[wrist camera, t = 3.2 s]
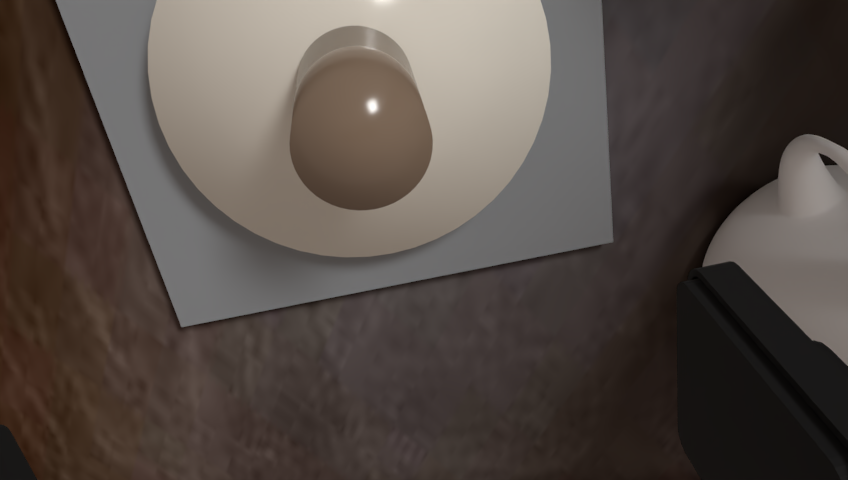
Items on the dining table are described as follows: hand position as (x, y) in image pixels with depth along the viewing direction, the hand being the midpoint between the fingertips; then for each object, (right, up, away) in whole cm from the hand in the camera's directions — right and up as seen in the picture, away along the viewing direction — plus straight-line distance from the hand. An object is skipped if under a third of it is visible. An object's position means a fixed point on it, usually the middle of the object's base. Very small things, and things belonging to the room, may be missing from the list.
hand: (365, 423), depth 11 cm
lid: (-1, +8, +14) cm, 16 cm away
